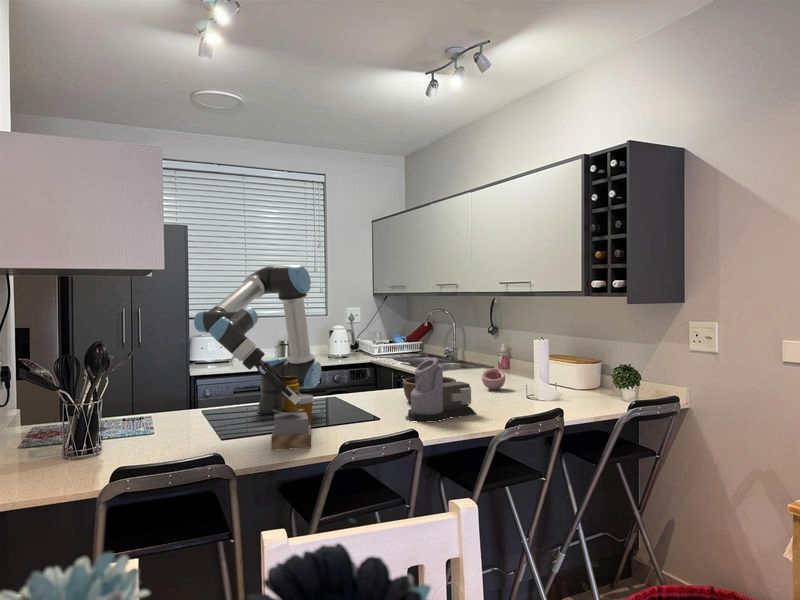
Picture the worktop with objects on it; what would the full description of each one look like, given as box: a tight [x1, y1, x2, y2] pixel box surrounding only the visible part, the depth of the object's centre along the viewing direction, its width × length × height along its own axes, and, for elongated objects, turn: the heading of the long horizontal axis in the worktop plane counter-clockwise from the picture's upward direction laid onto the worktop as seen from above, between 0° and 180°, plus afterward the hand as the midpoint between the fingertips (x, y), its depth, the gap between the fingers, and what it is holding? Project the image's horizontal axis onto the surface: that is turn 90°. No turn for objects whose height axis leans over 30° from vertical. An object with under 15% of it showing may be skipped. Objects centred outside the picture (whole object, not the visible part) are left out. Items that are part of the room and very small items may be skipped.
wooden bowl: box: [402, 376, 457, 404], centre depth 258 cm, size 25×25×10 cm
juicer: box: [404, 357, 477, 423], centre depth 228 cm, size 30×16×24 cm, turn 118°
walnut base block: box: [270, 425, 312, 450], centre depth 191 cm, size 13×13×5 cm
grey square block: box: [273, 412, 309, 436], centre depth 190 cm, size 11×11×5 cm
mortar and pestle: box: [481, 367, 506, 391], centre depth 286 cm, size 12×12×12 cm
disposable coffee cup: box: [291, 393, 315, 425], centre depth 213 cm, size 10×10×12 cm
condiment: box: [272, 375, 303, 414], centre depth 190 cm, size 7×8×12 cm
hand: (298, 399), depth 191 cm, fingers closed on condiment, 6 cm apart
